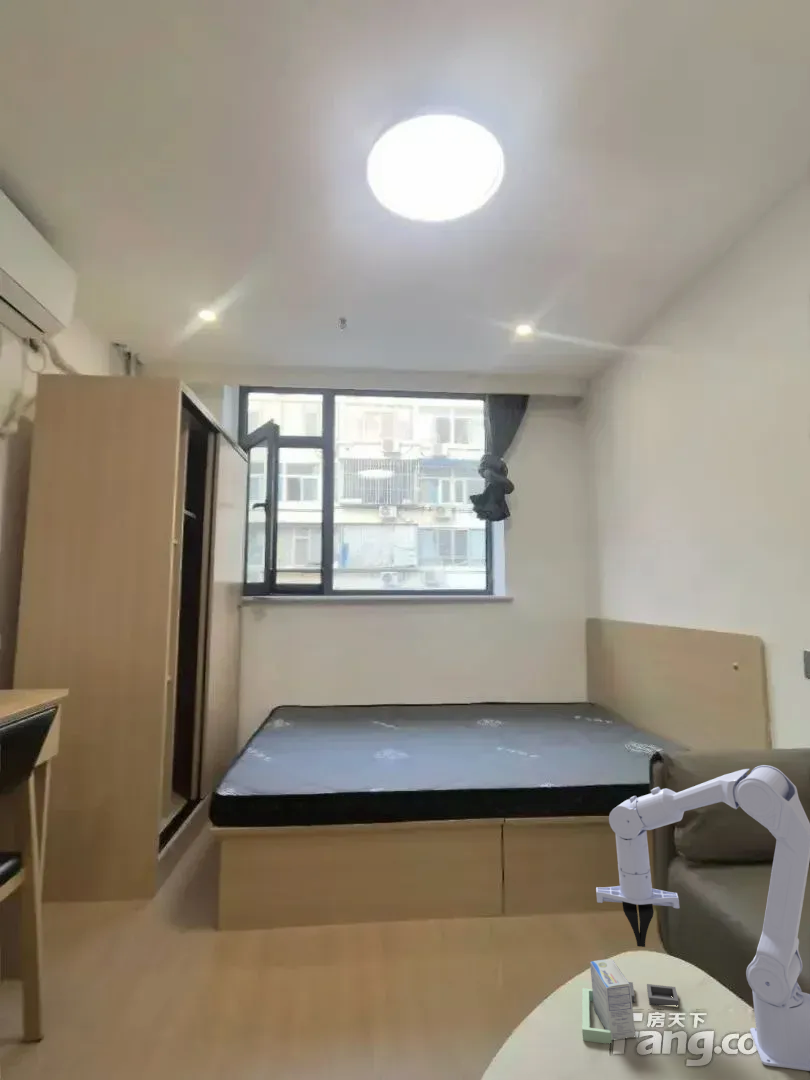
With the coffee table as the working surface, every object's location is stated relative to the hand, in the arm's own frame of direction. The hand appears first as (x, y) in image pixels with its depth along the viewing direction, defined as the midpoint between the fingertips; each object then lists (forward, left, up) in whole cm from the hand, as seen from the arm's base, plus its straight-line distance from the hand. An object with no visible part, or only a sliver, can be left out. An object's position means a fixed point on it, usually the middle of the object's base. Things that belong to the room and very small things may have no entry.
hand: (640, 943), depth 115 cm
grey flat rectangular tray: (-3, 0, -9) cm, 10 cm away
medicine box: (+6, +9, -10) cm, 14 cm away
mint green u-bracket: (+9, +8, -9) cm, 15 cm away
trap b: (+5, 0, -9) cm, 10 cm away
